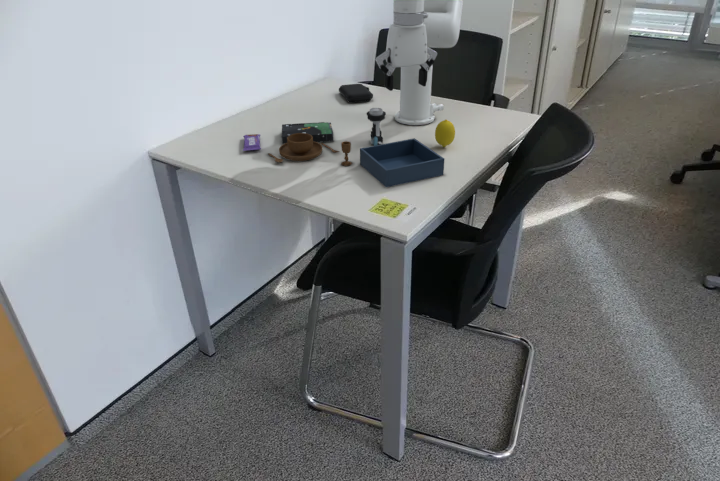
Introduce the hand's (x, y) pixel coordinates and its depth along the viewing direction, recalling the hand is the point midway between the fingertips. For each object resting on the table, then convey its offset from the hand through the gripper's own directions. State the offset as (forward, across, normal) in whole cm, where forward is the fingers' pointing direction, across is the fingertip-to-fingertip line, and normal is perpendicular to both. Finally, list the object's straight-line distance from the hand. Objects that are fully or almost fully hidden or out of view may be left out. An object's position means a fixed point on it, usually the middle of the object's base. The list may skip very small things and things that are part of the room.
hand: (405, 87), depth 144 cm
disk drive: (+17, +23, -17) cm, 33 cm away
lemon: (+17, -10, +5) cm, 20 cm away
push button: (+17, +7, -4) cm, 18 cm away
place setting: (+17, +28, -2) cm, 32 cm away
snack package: (+17, +40, -17) cm, 46 cm away
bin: (+17, +8, +14) cm, 23 cm away
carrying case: (+17, -4, -47) cm, 50 cm away
